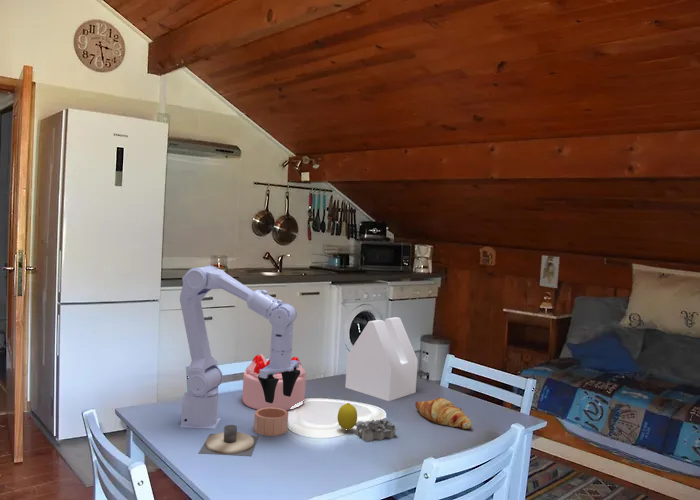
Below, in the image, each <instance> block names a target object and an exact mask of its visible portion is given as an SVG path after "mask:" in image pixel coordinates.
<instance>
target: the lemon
mask: <svg viewBox="0 0 700 500" xmlns="http://www.w3.org/2000/svg"><path fill="white" fill-rule="evenodd" d="M337 412H338V413H337V422H338V426H339V427H340V428H342V427H343V428H345V429H347V430H348V431H349V430H351V429H353V428H354V427H356V426H355V424H356V423H357V422H358V412H357V409H356V407H355V406H354V405H353V404H351V403H350V402H347V403H344V404H342V406H340V407H339V409H338V411H337ZM343 428H342V429H343ZM345 429H344V430H345Z"/></svg>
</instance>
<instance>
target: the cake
mask: <svg viewBox="0 0 700 500" xmlns="http://www.w3.org/2000/svg"><path fill="white" fill-rule="evenodd" d="M292 360H296V361H299V368H298V369H297V370H300V375H299V376H298V378H297V380H296V382H295V384H294V387H293V391H292V394H291V396H290V397H288V396H285V395H283V379H282V374H281V373H278V374H275V375H273V377H274V378H276V379H279V381H278V383H277V385H276V389H275V395H274V401H273V403H268V402H266V401H265V396H264V392H263V388H262V385H261V383H260V381H259V380H258V375H260V370H261V369H263V368H265V367H266V366H268V365H269V364H270V358H268V360H267V358H266V357H265V356H264V355H263V353H262V352H260V354H256V355H255V356H254V357H253V359H252V361H251V362H250V364H248V366H247V367H246V369H245V370H244V372H243V378H242V379H243V380H242V396H241V397H242V403H243V404H244V405H245V406H247V407H248V408H251V409H253V410H259V409H261V408H268V407H272V408H280V409H284V410H286V411H290V410H289V409H290V408H291V407H292V406H294V405H295V404H297V403H299V402H301V401H303V400H304V401H305V400H306V399H305V398H306V397H305V396H306V382H307V381H306V378H307V377H306V375H307V373H306V371H305V369H304V368H303V367H302V364H301V362H300V359H299V357H297V356H293V357H291V361H292Z"/></svg>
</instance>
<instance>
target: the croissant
mask: <svg viewBox="0 0 700 500" xmlns="http://www.w3.org/2000/svg"><path fill="white" fill-rule="evenodd" d="M414 405H415V406H414V407H415V408H416V409H417V411H418V412H419V414H420V415H421V416H422V417H423V418H425V419H426V420H428V421H430V422H432V423H435V424H438V425H442V426H449V427H452V428H455V427H456V428H461V429H465V430H466V429H470V428H472V426H473V423H472V421H471V419H470V417H469V416H467V415H466V414H465V412H464V411H463V410H462V408H461V407H457V406H455V405H454V403H453V402H452V401H450V400H448V399H446V398H442V397H437V398H435V399H429V400H428V401H426V400H422V401H415V404H414Z"/></svg>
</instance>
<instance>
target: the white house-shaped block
mask: <svg viewBox="0 0 700 500" xmlns="http://www.w3.org/2000/svg"><path fill="white" fill-rule="evenodd" d="M416 355H417V354H416V353H415V350H414V347H413V345H412V343H411V340H410V338H409V336H408V333H407V331H406V329H405V326H404V324H403V321H402V319H401V317H397V316H394V317H389V318H385V320H382V319H376V320H375V319H374V320H369V321H368V322H367V324H366V325H365V326H364V328H363V330H362V331H361V333H360V335H359V336H358V337H357V339H356V341H355V342H354V344H353V345H352V347H351V349H350V350H349V352H348V354H347V356H346V370H345V371H346V372H345V386H344V387H345V388H346V389H349V390H352V391H355V392H358V393H362V394H365V395H368V396H372V397H374V398H377V399H380V400H384V401H387V402H391V401H394V400H398V399H400V398H403V397H405V396H409V395H412V394H416V392H417V378H418V375H417V374H418V364H419V363H418V362H419V360H418V358H417V356H416Z"/></svg>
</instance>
